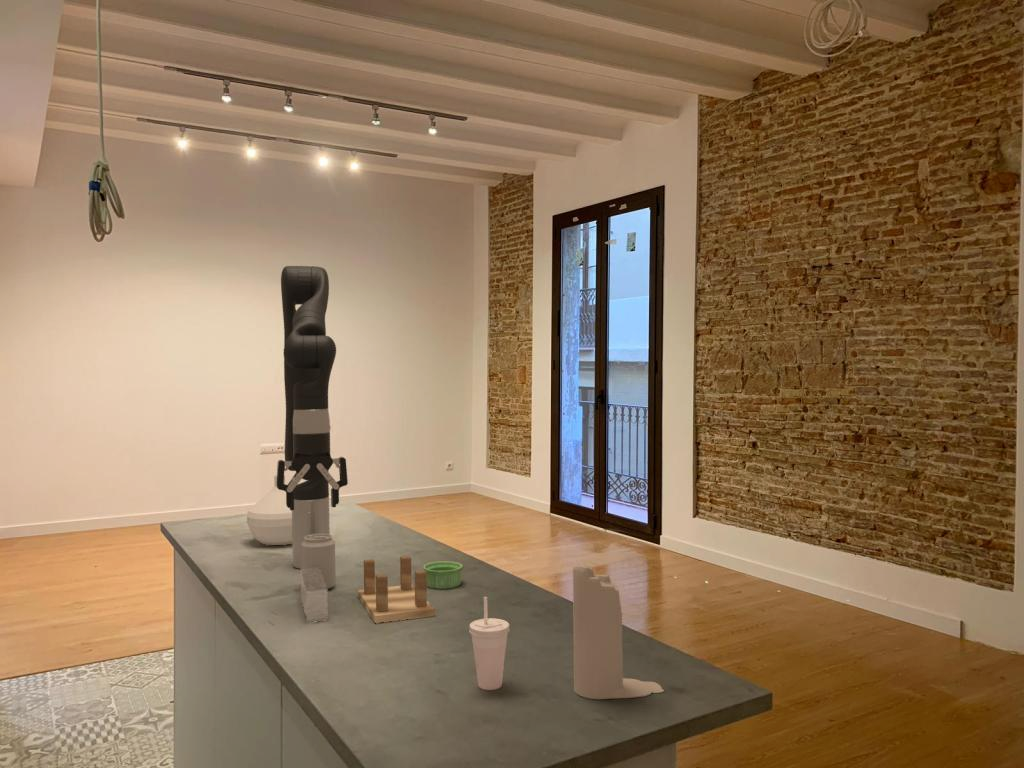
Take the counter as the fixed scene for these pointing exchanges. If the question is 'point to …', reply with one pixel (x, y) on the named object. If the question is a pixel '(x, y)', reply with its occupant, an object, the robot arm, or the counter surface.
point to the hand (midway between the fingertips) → (312, 508)
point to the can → (320, 556)
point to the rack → (395, 594)
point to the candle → (600, 640)
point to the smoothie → (489, 649)
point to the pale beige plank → (314, 595)
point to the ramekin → (443, 574)
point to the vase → (271, 518)
